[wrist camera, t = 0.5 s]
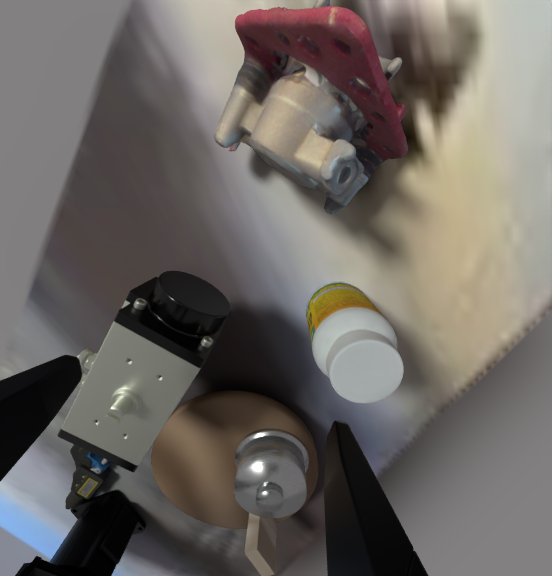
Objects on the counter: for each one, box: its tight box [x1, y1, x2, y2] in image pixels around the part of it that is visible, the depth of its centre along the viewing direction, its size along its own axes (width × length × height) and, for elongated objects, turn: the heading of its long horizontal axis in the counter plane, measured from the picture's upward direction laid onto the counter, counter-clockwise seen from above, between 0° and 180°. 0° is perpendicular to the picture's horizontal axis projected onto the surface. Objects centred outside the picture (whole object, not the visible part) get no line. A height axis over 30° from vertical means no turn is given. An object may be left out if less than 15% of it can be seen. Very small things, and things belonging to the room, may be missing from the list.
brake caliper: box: [214, 0, 408, 214], centre depth 16 cm, size 11×11×12 cm
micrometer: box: [66, 444, 111, 509], centre depth 30 cm, size 12×2×5 cm
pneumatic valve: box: [58, 271, 231, 472], centre depth 19 cm, size 6×12×12 cm, turn 148°
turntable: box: [151, 390, 318, 576], centre depth 25 cm, size 16×16×5 cm
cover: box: [234, 428, 309, 518], centre depth 23 cm, size 7×7×4 cm
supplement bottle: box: [306, 282, 404, 404], centre depth 19 cm, size 5×5×10 cm
